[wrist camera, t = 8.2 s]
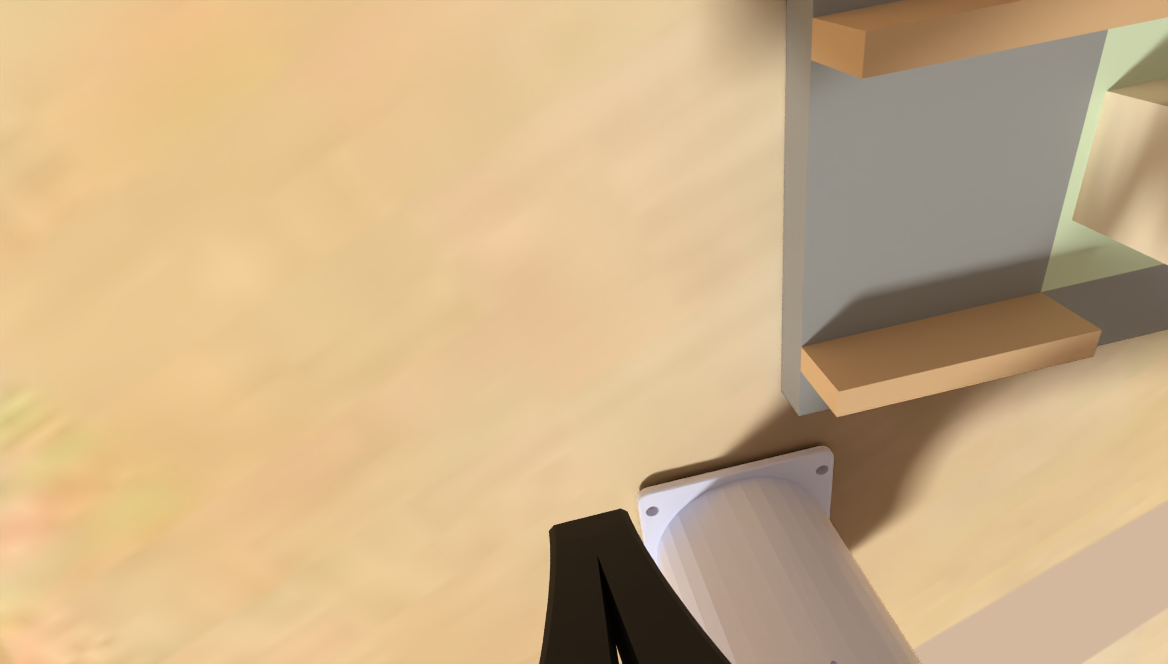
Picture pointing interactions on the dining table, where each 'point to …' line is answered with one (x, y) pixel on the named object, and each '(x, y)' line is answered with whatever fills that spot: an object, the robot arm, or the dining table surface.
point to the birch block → (1129, 170)
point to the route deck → (952, 193)
